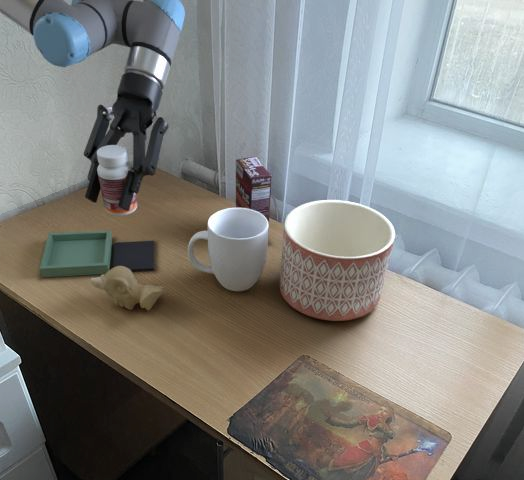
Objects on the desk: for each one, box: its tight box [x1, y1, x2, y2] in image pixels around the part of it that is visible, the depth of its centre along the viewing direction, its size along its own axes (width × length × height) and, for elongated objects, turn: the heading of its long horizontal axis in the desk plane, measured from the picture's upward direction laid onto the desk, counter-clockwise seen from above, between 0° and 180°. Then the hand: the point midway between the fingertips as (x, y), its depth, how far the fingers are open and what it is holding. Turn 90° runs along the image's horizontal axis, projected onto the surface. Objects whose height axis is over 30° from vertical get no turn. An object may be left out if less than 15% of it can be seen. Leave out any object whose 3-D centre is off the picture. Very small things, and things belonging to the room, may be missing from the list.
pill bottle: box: [97, 144, 138, 217], centre depth 98 cm, size 6×6×11 cm
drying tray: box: [39, 230, 113, 278], centre depth 108 cm, size 13×13×2 cm
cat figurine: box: [90, 266, 165, 311], centre depth 96 cm, size 8×7×12 cm
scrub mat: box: [112, 240, 155, 273], centre depth 109 cm, size 10×8×1 cm
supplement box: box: [235, 156, 273, 234], centre depth 111 cm, size 9×5×16 cm, turn 22°
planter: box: [279, 199, 396, 322], centre depth 98 cm, size 19×19×15 cm
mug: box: [187, 207, 269, 292], centre depth 100 cm, size 15×11×13 cm
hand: (106, 204), depth 97 cm, fingers closed on pill bottle, 6 cm apart
